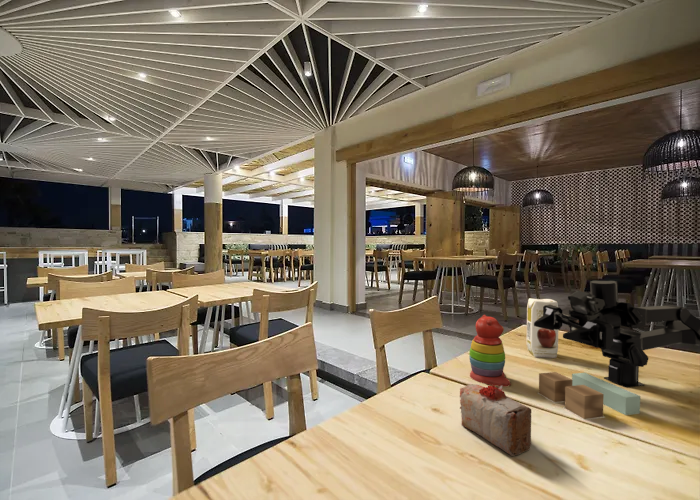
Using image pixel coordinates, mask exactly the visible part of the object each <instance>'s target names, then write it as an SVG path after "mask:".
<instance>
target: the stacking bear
mask: <svg viewBox="0 0 700 500" xmlns="http://www.w3.org/2000/svg"><path fill="white" fill-rule="evenodd" d="M475 330H476V331H475V332H476V334H477V335H476V336H475V335H474V337H473V339H472V340H471V345H470V349H469V362H470V368H471V370H470V373H469V377H470V379H472V380H474V381H475V382H477V383H481V384H484V385H487V386H493V385H495V387H500V386H502V388H505V387H508V388H509V386H510V387H511V382H510V380H509V379H508V378H507V377H506V374H505V372H504V367H505V363H506V353H505V348H504V344H503V340H502V339H501V338H500V337H501V336H502V334H503V333H504V330H505V328H504V327H503V325H501V324H500V323H499V321H498V320H497V319H496V318H495V317H492V316H487V315H486V314H483V315H482V316H481V317H480V318H478V319H477V321H476V322H475Z"/></svg>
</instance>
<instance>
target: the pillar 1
mask: <svg viewBox="0 0 700 500" xmlns="http://www.w3.org/2000/svg"><path fill="white" fill-rule="evenodd" d="M566 386H572V378H569V377H567V376H565V375H563V374H562V373H559V372H557V371H552V372H541V373H538V393H539V394H538V395H540V394H541V395H543V396H545V397H546V398H545V397H544V398H545V399H547V398H548V399H550V400H552V401H553V402H559V403H561V402H560V401H565V387H566ZM541 395H540V396H541ZM543 396H542V397H543ZM548 399H547V400H548ZM550 400H549V401H550ZM552 401H551V402H552ZM553 402H552V403H553Z"/></svg>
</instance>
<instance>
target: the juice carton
mask: <svg viewBox="0 0 700 500" xmlns="http://www.w3.org/2000/svg"><path fill="white" fill-rule="evenodd" d="M545 305H553V306H556V307H559V303H558V301H556V300H554V299H551V298H540V299H539V298H531V297H530V298H528V302H527V307H526V348H527V352H528V351H529V352H530V354H531V355H532V356H533V358H549V359H550V358H551V359H556V358H557V356H558V352H559V329H557V330H555V329H554V330H549V329H545V328H540V327H536V326H534V322H535V321H537V320H538V319H539V318H541V317H542V316H543V307H544V306H545ZM529 352H528V353H529Z"/></svg>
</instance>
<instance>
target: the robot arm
mask: <svg viewBox="0 0 700 500" xmlns="http://www.w3.org/2000/svg"><path fill="white" fill-rule="evenodd" d="M589 285H590V287H589V288H590V292H586V291H582V290H576V291H574V292H572V293H571V294H569V295H568V296H567V300H568V301H569V303H570V308H571V309H568V314H565V313H563V309H562V308H561V307H560V306H558V307H556V306H553V305H545V306H544V307H543V316H542V317H541V318H539V319H538V320H537V321H535V322H534V326H536V327H540V328H545V329H549V330H554V329H555V330H557V329H558V330H560V329H561V328H562V326H563V324H564V325H567V326H568V327H569V331H567V332H564V333H562V338H563V339H565V340H568V341H571V342H572V341H573V342H576V343H579V344H583V345H587V346H590V347H593V348H596V349H600V352H601V354H602V357H605V358H608V359H609V361H608V363H609V364H608V371H607V372H608V376H604V377H603V380H606V381H607V382H610V383H611V382H612V384H617V385H618V386H619V387H623V388H626V389H627V388H635V387H637V388H638V387H644V386H645V384H644V383H642V382H640V381H639V372H640V369H639V368H644V366H647V365H648V362H649V356H648V355H647V354H646V353H645V351H646V350H652V349H656V348H657V349H658V348H662V347H667V346H672V345H677V344H684V345H691V346H692V345H693V346H700V319H699V318H698V317H697V316H695V315H693V314H692V313H691V312H690V311H689V309H688V308H685V307H684V306H679V305H673V304H672V305H671V304H664V305H653V306H651V305H650V306H637V307H636V306H633V304H631V303H630V302H624V301H619V291H618V289H619V282H618V281H617V280H616V281H615V280H592V281H591V280H590V281H589ZM659 322H663V326H664V327H663V328H658V329H652V330H646V331H641V332H635V331H633V330H628V329H624V328H621V327H626V328H629V329H634V330H636V329H639V328H643V327H645V326H646V325H647V324H648V323H659Z"/></svg>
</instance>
